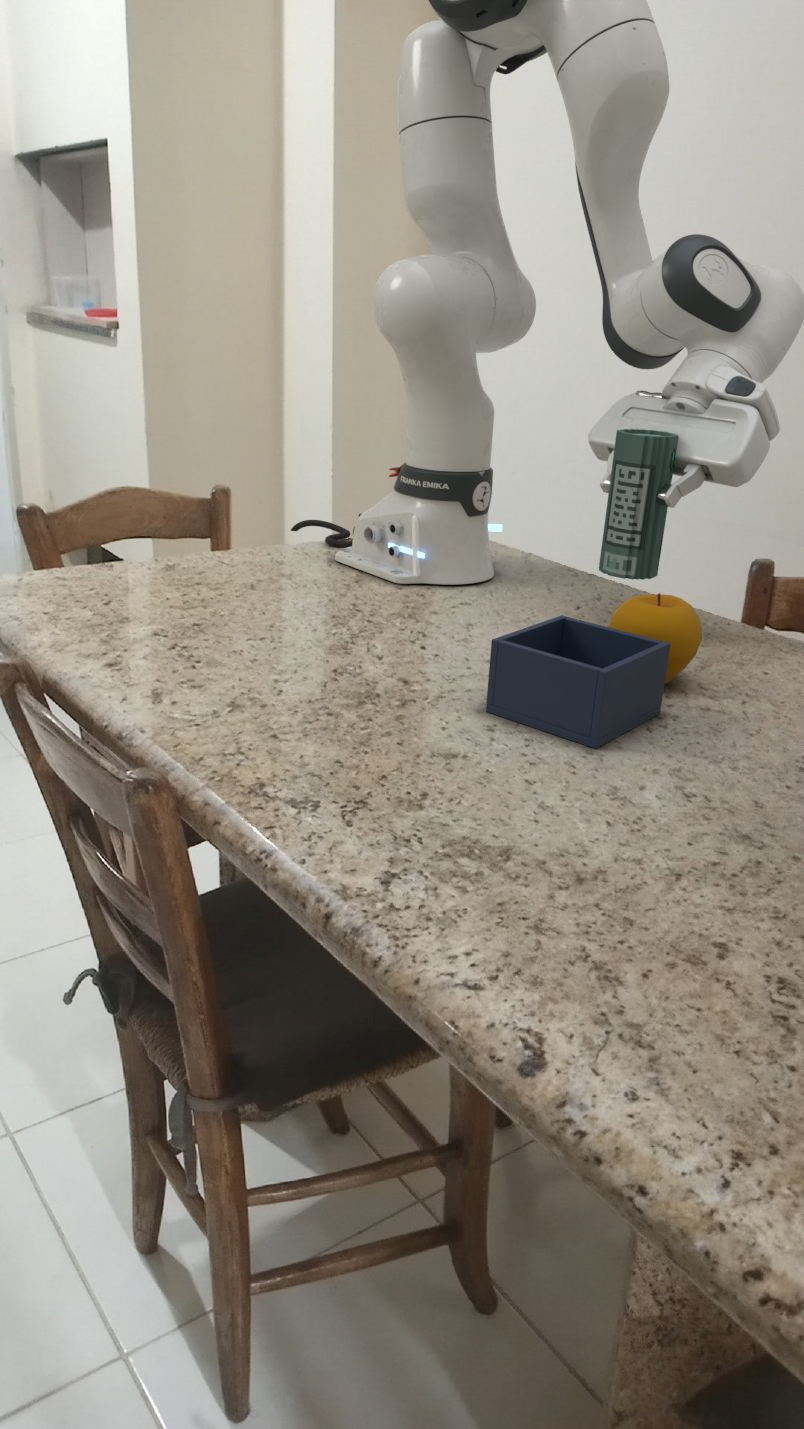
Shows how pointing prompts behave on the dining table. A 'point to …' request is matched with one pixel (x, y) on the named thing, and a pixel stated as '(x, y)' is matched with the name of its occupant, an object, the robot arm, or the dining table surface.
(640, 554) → the can
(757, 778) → the dining table surface
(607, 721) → the dark blue bin
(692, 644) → the apple
